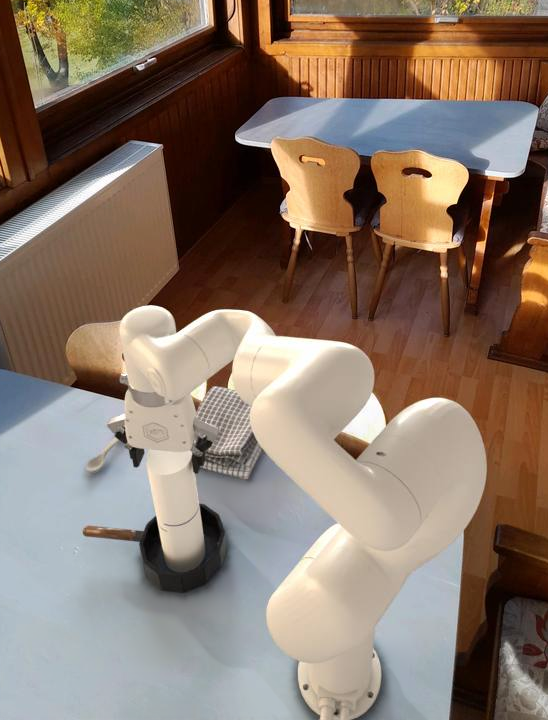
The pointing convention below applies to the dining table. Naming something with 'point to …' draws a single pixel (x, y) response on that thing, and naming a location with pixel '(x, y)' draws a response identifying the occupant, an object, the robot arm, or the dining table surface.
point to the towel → (229, 433)
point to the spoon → (100, 458)
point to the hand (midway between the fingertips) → (168, 463)
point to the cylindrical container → (176, 508)
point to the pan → (152, 546)
